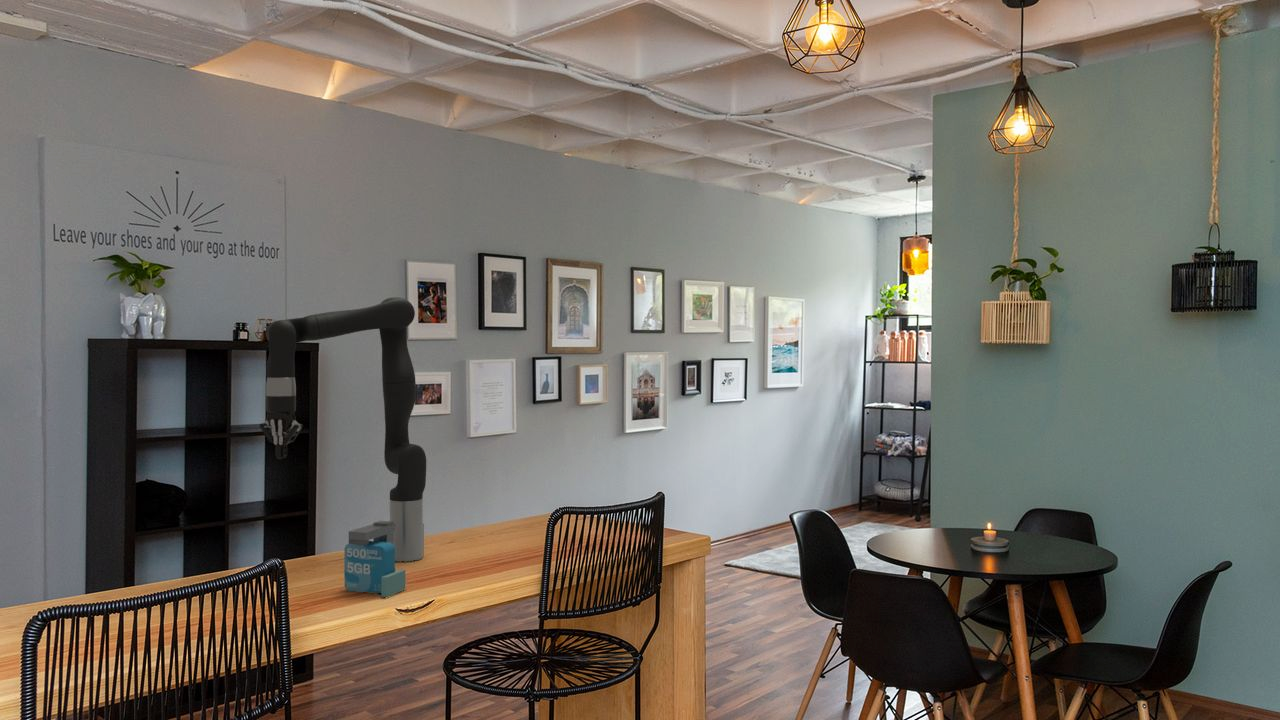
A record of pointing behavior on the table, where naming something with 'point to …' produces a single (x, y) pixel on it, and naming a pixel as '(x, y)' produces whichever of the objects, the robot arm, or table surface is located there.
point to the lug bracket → (373, 533)
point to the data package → (367, 565)
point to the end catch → (392, 583)
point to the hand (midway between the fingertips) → (281, 458)
